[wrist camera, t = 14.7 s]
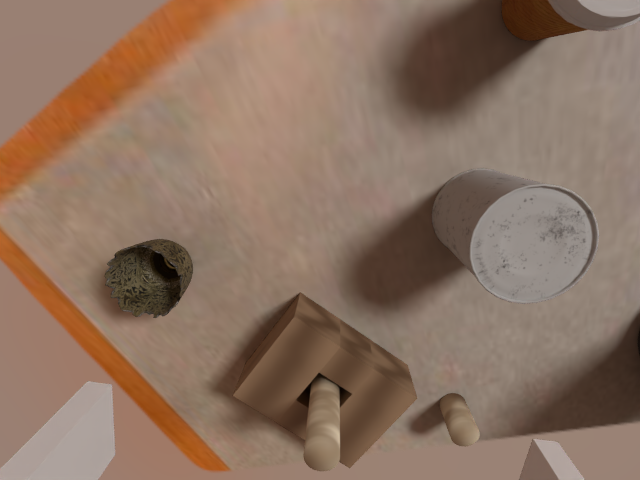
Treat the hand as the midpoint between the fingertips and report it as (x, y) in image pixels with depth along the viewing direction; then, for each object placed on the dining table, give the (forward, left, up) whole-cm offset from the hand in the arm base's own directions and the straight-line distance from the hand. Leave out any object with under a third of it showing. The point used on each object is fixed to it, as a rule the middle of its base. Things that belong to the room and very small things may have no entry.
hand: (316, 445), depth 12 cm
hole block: (-10, +15, -31) cm, 36 cm away
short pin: (-26, +10, -31) cm, 42 cm away
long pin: (-10, +15, -31) cm, 36 cm away
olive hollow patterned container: (+12, +14, -31) cm, 36 cm away
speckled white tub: (-12, -10, -31) cm, 35 cm away
